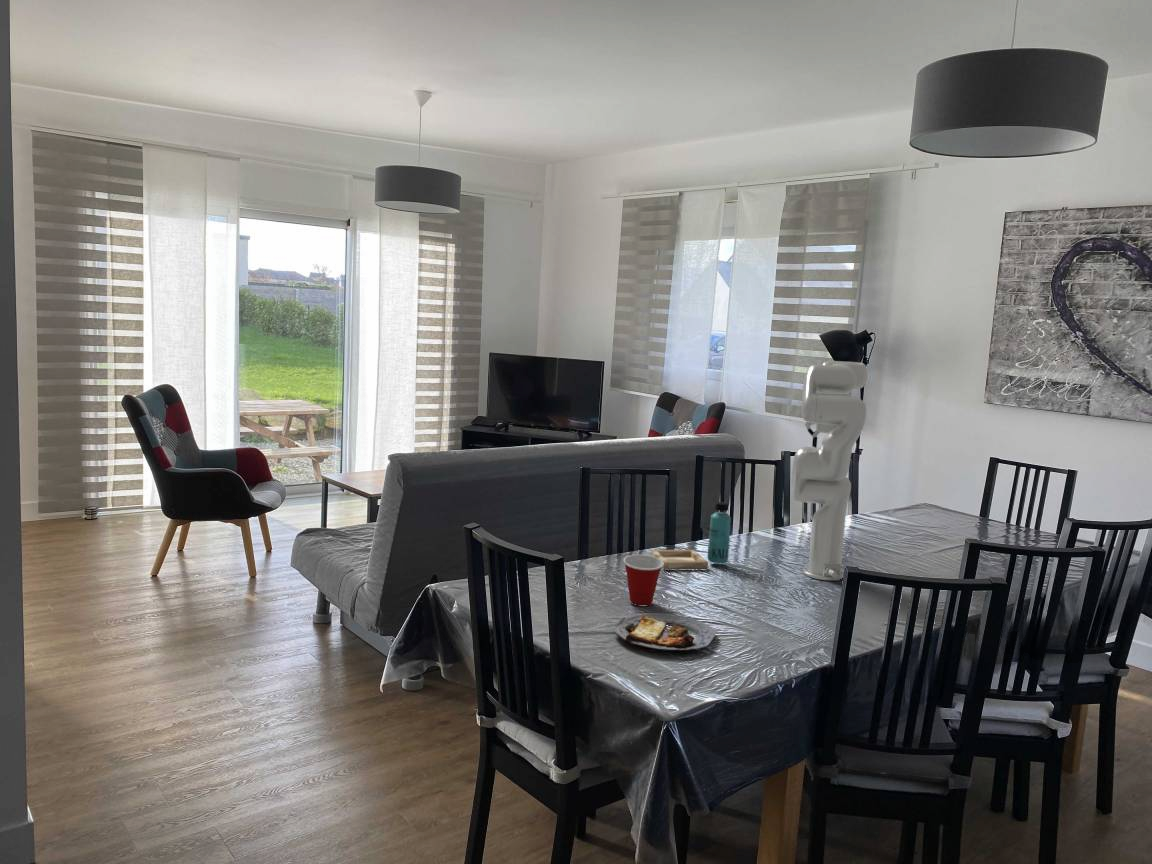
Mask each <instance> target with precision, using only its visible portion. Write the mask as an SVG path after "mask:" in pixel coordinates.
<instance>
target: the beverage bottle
mask: <svg viewBox="0 0 1152 864" xmlns="http://www.w3.org/2000/svg"><path fill="white" fill-rule="evenodd" d="M714 504H715V505H714V510H716V511H715V512H714V513H712V514H711V515H710V523H709V524H710V525H709V534H708V535H709V536H708V546H707V561H709V562H710V563H713V564H714V563H716V564H725V563H727V562H728V560H729V550H730V532H731V520H732V518H731V516H730V514H728V513H727V512H726V511H728V510H729V504H728V503H727V502H724V501H723V502H722V501H716V502H715V503H714ZM724 511H725V512H724Z"/></svg>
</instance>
